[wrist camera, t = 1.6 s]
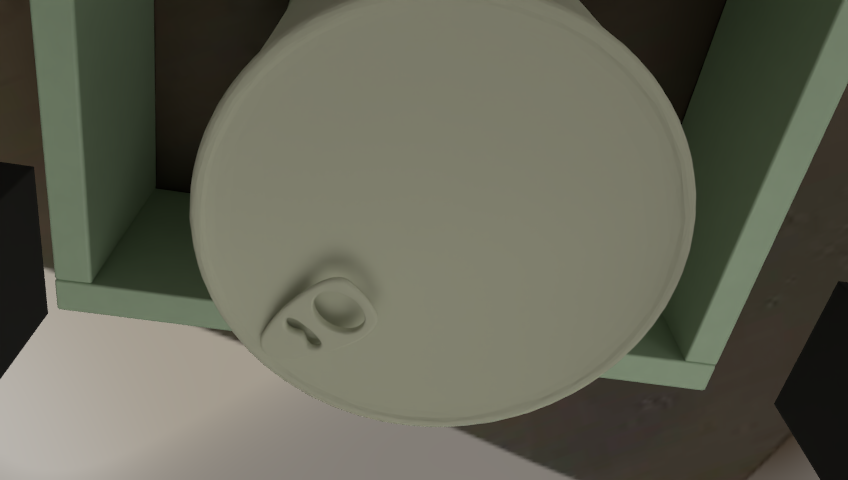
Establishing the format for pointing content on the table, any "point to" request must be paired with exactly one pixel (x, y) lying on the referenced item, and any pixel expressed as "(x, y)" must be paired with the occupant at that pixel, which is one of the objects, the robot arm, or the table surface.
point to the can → (442, 205)
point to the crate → (170, 210)
